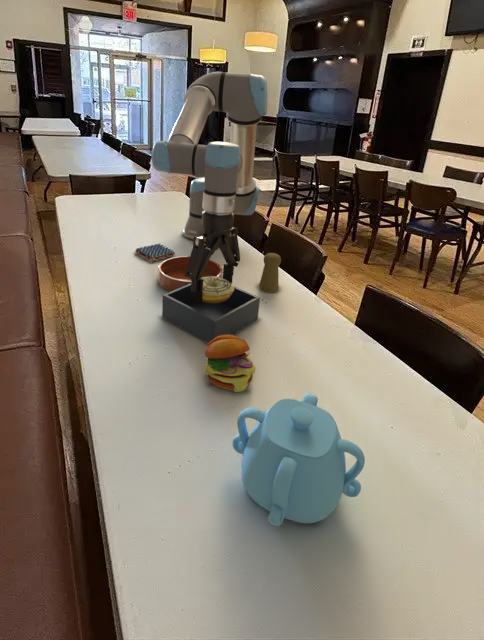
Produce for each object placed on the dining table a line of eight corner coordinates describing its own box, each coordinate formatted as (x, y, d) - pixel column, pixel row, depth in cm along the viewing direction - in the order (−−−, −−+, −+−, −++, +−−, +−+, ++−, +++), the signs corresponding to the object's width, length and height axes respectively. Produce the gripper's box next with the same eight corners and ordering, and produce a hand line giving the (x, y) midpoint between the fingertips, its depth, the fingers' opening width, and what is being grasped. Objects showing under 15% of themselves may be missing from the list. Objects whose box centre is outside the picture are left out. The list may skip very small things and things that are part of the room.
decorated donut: (240, 294, 107) (241, 280, 105) (219, 310, 98) (220, 296, 97) (205, 282, 111) (206, 270, 110) (183, 297, 102) (183, 283, 101)
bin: (207, 296, 118) (209, 275, 116) (257, 319, 108) (260, 297, 106) (162, 317, 106) (162, 294, 103) (213, 346, 96) (215, 321, 93)
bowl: (189, 264, 139) (190, 251, 138) (233, 282, 128) (235, 269, 127) (145, 280, 125) (145, 266, 124) (190, 302, 114) (191, 288, 112)
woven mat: (133, 253, 144) (133, 247, 144) (159, 247, 151) (159, 242, 150) (150, 263, 137) (150, 257, 137) (175, 256, 144) (176, 251, 143)
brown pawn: (256, 289, 125) (260, 255, 121) (262, 281, 130) (266, 249, 126) (275, 293, 123) (280, 259, 119) (280, 286, 128) (285, 253, 124)
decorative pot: (224, 449, 68) (231, 382, 63) (312, 435, 73) (325, 371, 67) (257, 549, 54) (269, 472, 49) (365, 523, 58) (386, 450, 53)
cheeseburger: (219, 401, 78) (216, 351, 77) (196, 379, 88) (193, 334, 86) (264, 387, 83) (262, 340, 81) (238, 367, 92) (235, 325, 91)
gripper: (195, 223, 86) (190, 316, 94) (260, 207, 103) (251, 286, 111) (170, 215, 90) (168, 304, 98) (236, 200, 107) (229, 277, 115)
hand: (212, 295), depth 104 cm, fingers closed on decorated donut, 11 cm apart
